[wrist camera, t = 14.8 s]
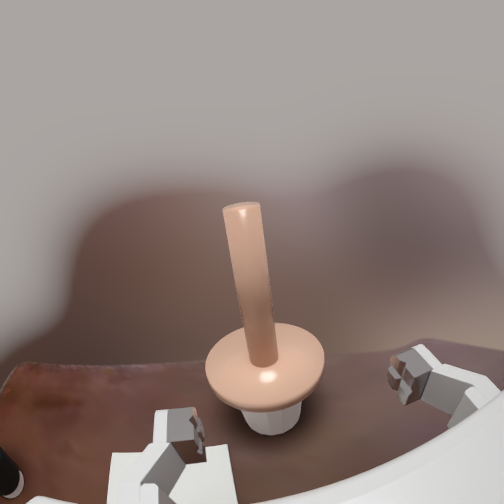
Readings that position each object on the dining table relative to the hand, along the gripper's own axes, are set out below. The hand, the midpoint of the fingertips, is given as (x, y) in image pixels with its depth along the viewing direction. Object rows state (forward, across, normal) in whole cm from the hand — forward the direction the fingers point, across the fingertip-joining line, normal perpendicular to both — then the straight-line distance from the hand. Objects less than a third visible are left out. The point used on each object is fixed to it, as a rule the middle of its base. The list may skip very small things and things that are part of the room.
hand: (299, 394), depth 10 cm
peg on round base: (+11, 0, +9) cm, 15 cm away
